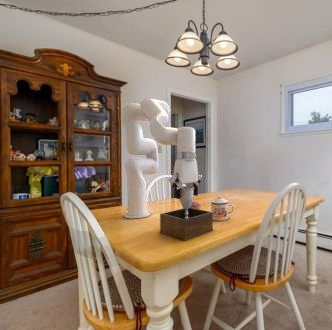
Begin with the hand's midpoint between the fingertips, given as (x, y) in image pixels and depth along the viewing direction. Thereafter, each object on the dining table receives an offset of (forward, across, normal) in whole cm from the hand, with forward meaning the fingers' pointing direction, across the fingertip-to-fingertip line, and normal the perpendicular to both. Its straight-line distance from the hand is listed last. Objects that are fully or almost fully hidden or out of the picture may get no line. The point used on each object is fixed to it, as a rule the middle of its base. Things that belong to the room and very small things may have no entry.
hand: (186, 196), depth 95 cm
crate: (+15, 0, 0) cm, 15 cm away
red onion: (+15, -21, -19) cm, 32 cm away
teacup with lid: (+15, -25, -1) cm, 29 cm away
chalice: (+14, 0, 0) cm, 14 cm away
